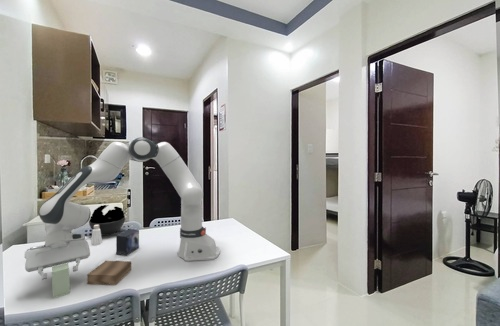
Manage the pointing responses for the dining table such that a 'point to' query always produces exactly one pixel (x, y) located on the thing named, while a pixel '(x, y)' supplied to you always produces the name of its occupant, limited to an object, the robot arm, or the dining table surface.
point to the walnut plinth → (109, 272)
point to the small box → (127, 241)
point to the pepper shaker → (96, 236)
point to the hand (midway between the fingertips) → (60, 274)
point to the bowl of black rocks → (107, 220)
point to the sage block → (60, 280)
